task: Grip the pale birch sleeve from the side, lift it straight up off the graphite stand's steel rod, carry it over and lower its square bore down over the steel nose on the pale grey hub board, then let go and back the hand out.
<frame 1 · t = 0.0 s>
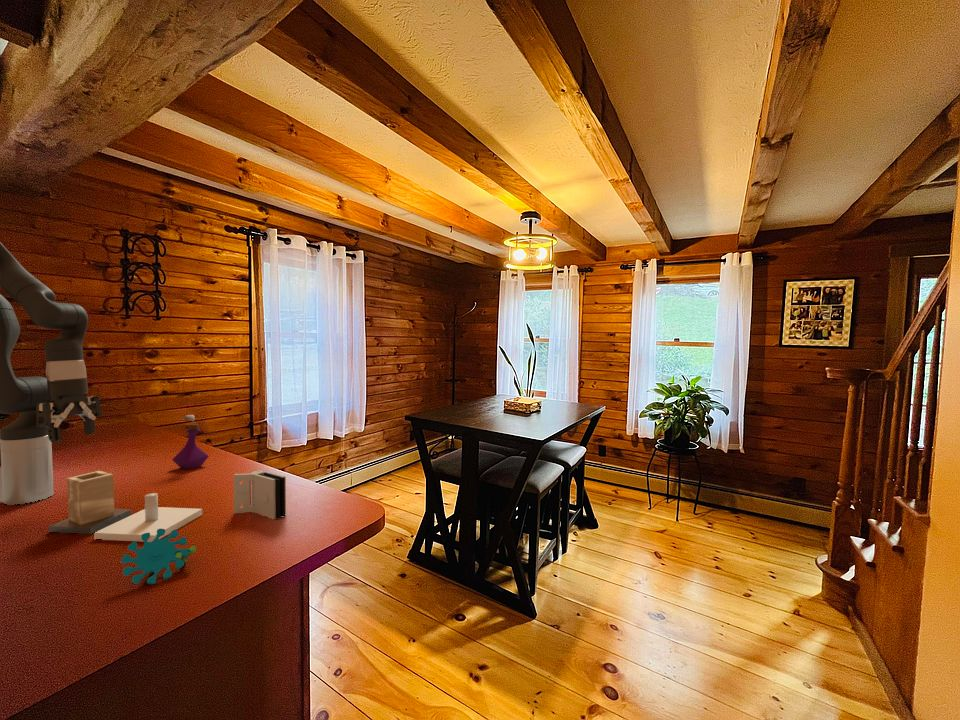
hand: (73, 437, 109), 17 cm above the kitchen counter, tool pointing down, fingers open, 8 cm apart
sleeve: (91, 517, 97), point 1 cm above the kitchen counter, touching stand
perfume bottle: (191, 467, 139), on the kitchen counter
gear: (160, 575, 77), on the kitchen counter
hub board: (152, 526, 96), on the kitchen counter
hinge: (260, 514, 104), on the kitchen counter
stand: (92, 523, 97), on the kitchen counter
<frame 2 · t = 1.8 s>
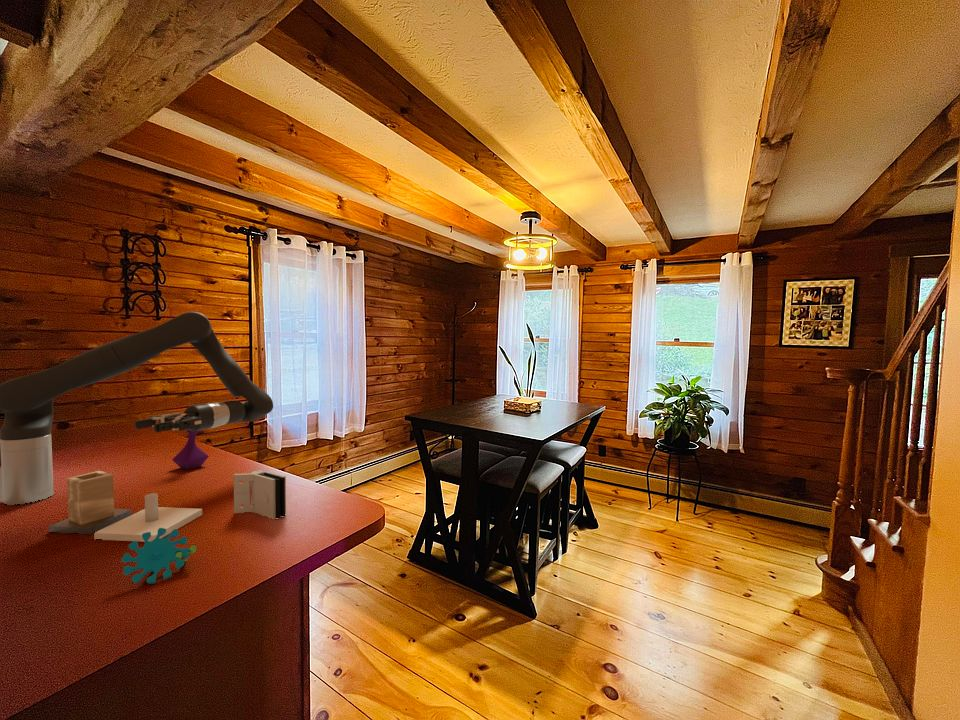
hand: (144, 426, 106), 21 cm above the kitchen counter, tool horizontal, fingers open, 8 cm apart
nothing on the kitchen counter moved.
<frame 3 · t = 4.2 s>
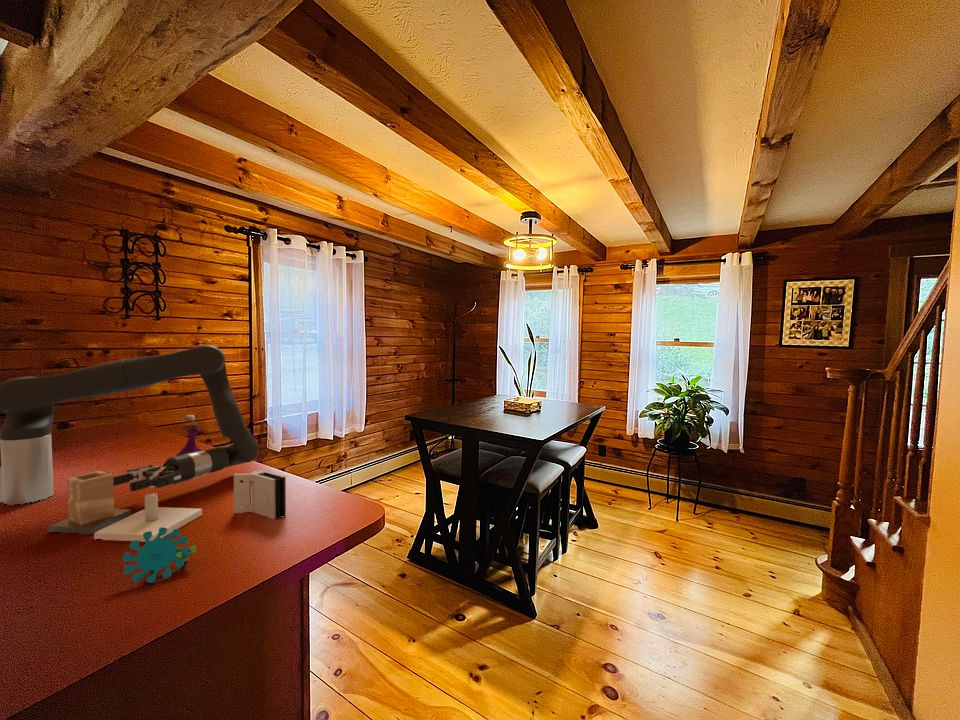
hand: (120, 484, 102), 7 cm above the kitchen counter, tool horizontal, fingers open, 8 cm apart
nothing on the kitchen counter moved.
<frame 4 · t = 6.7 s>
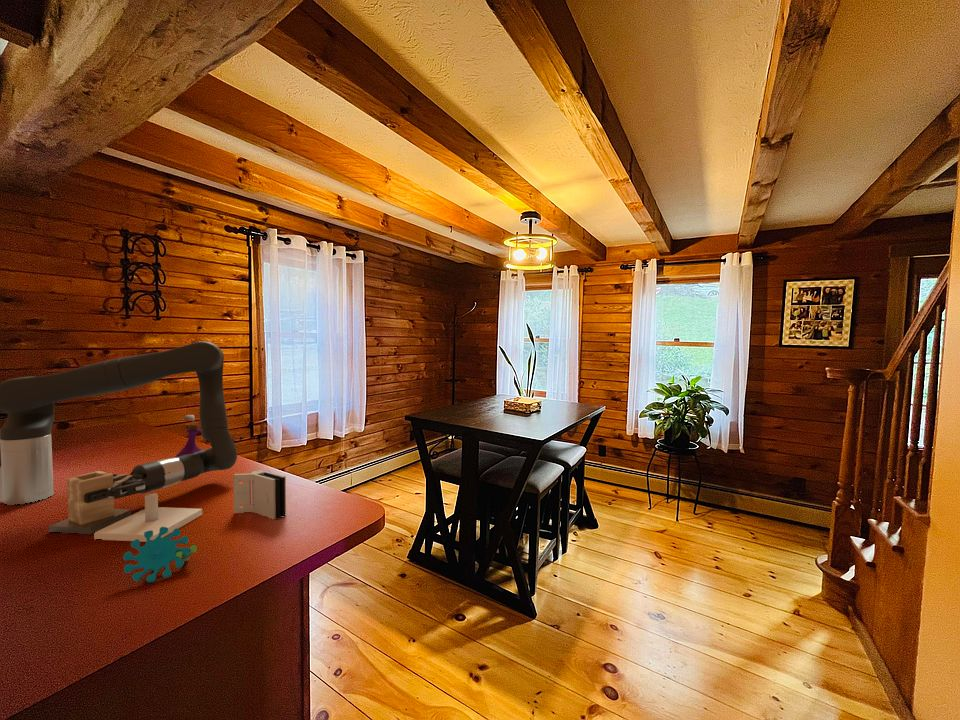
hand: (77, 496, 94), 7 cm above the kitchen counter, tool horizontal, fingers closed on sleeve, 6 cm apart
sleeve: (91, 517, 97), point 2 cm above the kitchen counter, touching gripper, stand
everything else where it was.
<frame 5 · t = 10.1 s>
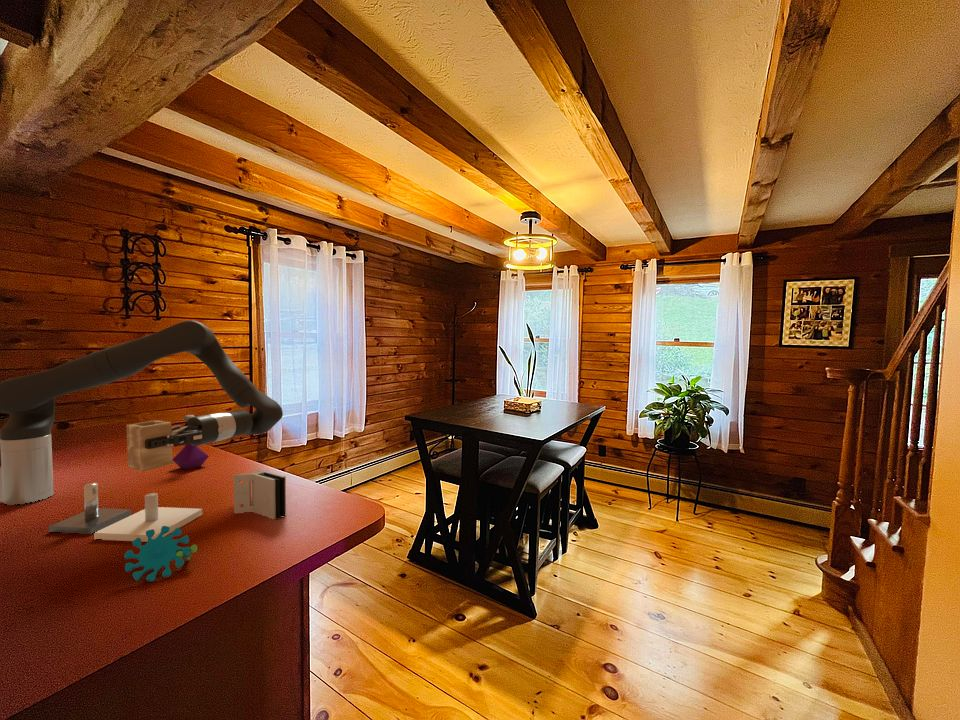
hand: (137, 442, 93), 20 cm above the kitchen counter, tool horizontal, fingers closed on sleeve, 6 cm apart
sleeve: (150, 465, 95), point 14 cm above the kitchen counter, touching gripper
when the fingers open (8 cm above the kitchen counter, at t = 14.0 s): sleeve stays where it is, resting on hub board.
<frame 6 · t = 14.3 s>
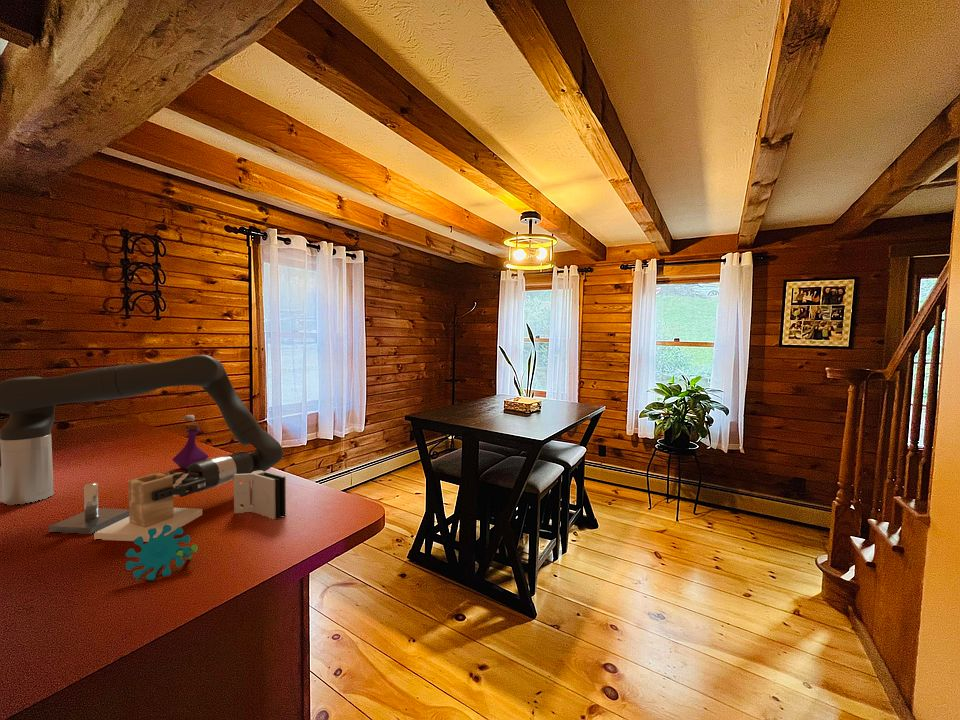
hand: (141, 493, 94), 8 cm above the kitchen counter, tool horizontal, fingers open, 8 cm apart
sleeve: (151, 519, 96), point 1 cm above the kitchen counter, touching hub board
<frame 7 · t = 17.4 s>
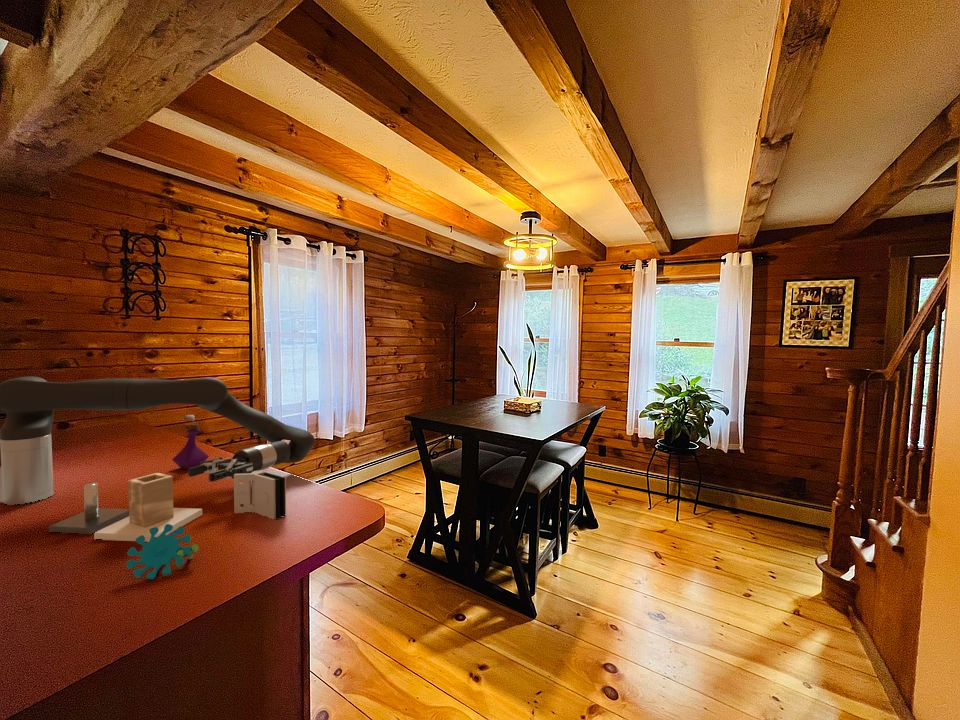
hand: (199, 475, 106), 9 cm above the kitchen counter, tool horizontal, fingers open, 8 cm apart
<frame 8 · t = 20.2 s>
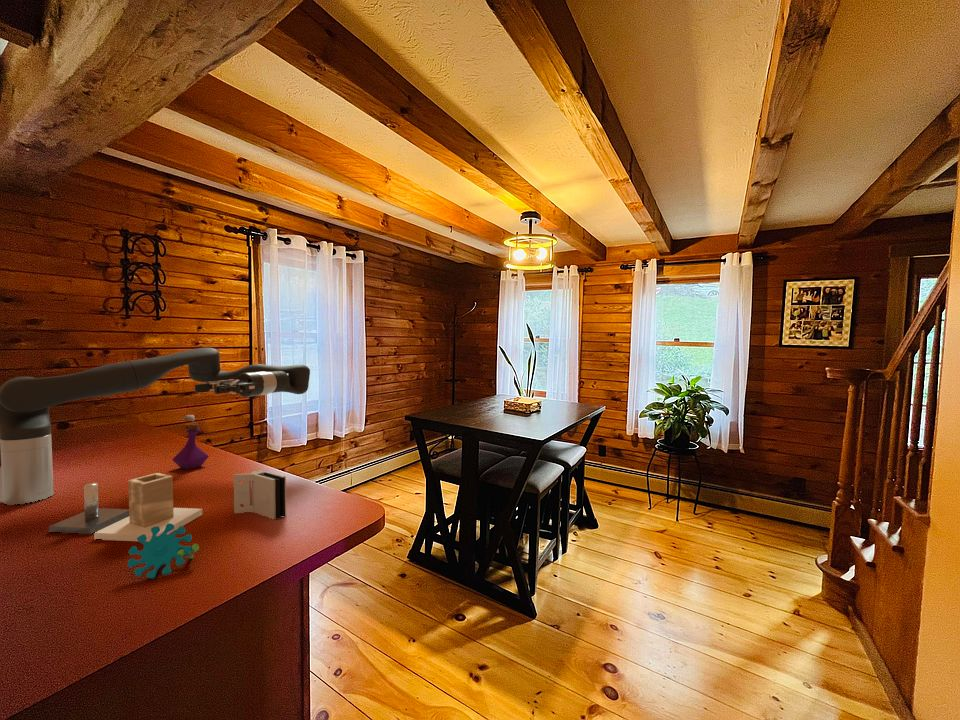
hand: (205, 389, 115), 30 cm above the kitchen counter, tool horizontal, fingers open, 8 cm apart
at the end: sleeve 0.1 cm off-centre on the hub board, point 1.5 cm above the hub board's base; sleeve tilted 0°; the gripper is holding nothing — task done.
